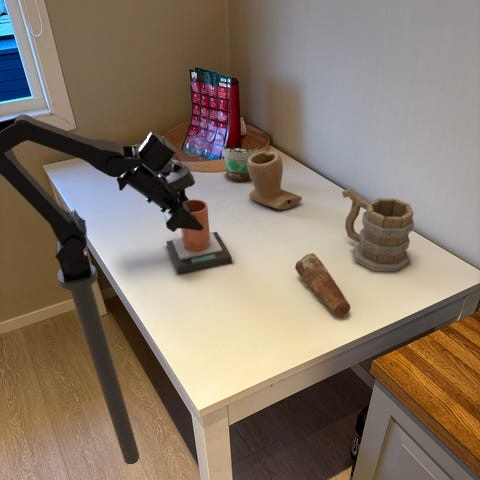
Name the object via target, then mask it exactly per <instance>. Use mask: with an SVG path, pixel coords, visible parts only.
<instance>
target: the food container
mask: <svg viewBox="0 0 480 480" xmlns="http://www.w3.org/2000/svg"><path fill="white" fill-rule="evenodd" d="M258 152H260V150H259V149H258V147H256V148H255V149H248V148H243V147H225V144H223V146H222V149H221V155H222V156H223V158H224V163H225V170H226V177H227V179H228V180H229V181H231V182H234V183H247V182H250V181H252V180H251V178H250V175H249V172H248V169H247V161H248V159H249V157H250V156H252V155H253V154H255V153H258Z"/></svg>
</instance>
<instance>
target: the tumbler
mask: <svg viewBox="0 0 480 480" xmlns="http://www.w3.org/2000/svg"><path fill="white" fill-rule="evenodd" d="M183 203H185V204H186V205H187V206H189V207H190V211H191V215H192V216H193V217H194V218H195V219H196V220H197V221H198V222H199V223H200V224H201V225H202V226H203V227H204V228H203V229H202V230H201V231H199V230H191V229H180V230H181V231H180V232H181V238H182V240H183V247H184V249H186V250H187V251H190V252H201V251H204V250H206V249H207V248H209V246H210V233H211V232H210V222H209V220H210V219H209V206H208V203H207V202H206V201H204V200H201V199H189V200H187V201H184V202H183Z"/></svg>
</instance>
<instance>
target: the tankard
mask: <svg viewBox="0 0 480 480" xmlns="http://www.w3.org/2000/svg"><path fill="white" fill-rule="evenodd" d="M341 195H342V197H343V198H349V199H350V200H351V201H352V203H351V207H350V211H349V212H348V215H347V216H346V218H345V224H344V228H345V231H346V235H347V238H349V239H351V240H352V241H353V242H356V243H358V244H356V245H355V246H354V256H355V261H356V263H357V264H359V265H361V266H363V267H365V268H367V269H369V270H371V271H373V272H397V271H398V270H400V269H401V268H402V267H404V266H405V265H407V264H408V263H409V255H408V252H407V250H408V249H409V246H410V242H411V240H410V238H409V234H410V233H411V232H413V230H414V226H415V222H414V219H413V217H414V211H413V208H412V206H411V204H409V203H408V202H405V201H403V200H400V199H398V198H391V197H389V198H385V197H384V198H376V199H374V200H373V201H371V202H370V201H368V200H365V199H363V197H361V196H360V195H359V194H358V192H357V193H356V191H355V190H354V189H353V188H348V189H344V190H342V191H341ZM361 208H362V209H364V210H365V211H364V212H363V213H362V219H361V222H362V226H363V228H362V229H360V230H359V233H358V232H357V231H356V230H355V222H356V220H357V218H358V216H359V214H360V212H361Z"/></svg>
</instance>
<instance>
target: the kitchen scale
mask: <svg viewBox="0 0 480 480" xmlns="http://www.w3.org/2000/svg"><path fill="white" fill-rule="evenodd" d="M209 233H210V246H209V248H207V249H206V250H204V251H201V252H190V251H187V250H186V249H184V247H183V240H182V237H181V238H177V239H172V240H166V241H165V242H166V248H167V250H168V253H169V256H170V258H171V260H172V263H173V265H174V267H175V271H176V273H177V274H178V275H182V274H187V273H190V272H196V271H201V270H206V269H209V268H216V267H219V266H225V265H229V264H232V262H233V259H232V255H231V253H230V252H229V250H228V248H227V246H226V245H225V243H224V242H223V241H224V240H222V238H221V236H220V234H219V233H218V231H213V232H209Z"/></svg>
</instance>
